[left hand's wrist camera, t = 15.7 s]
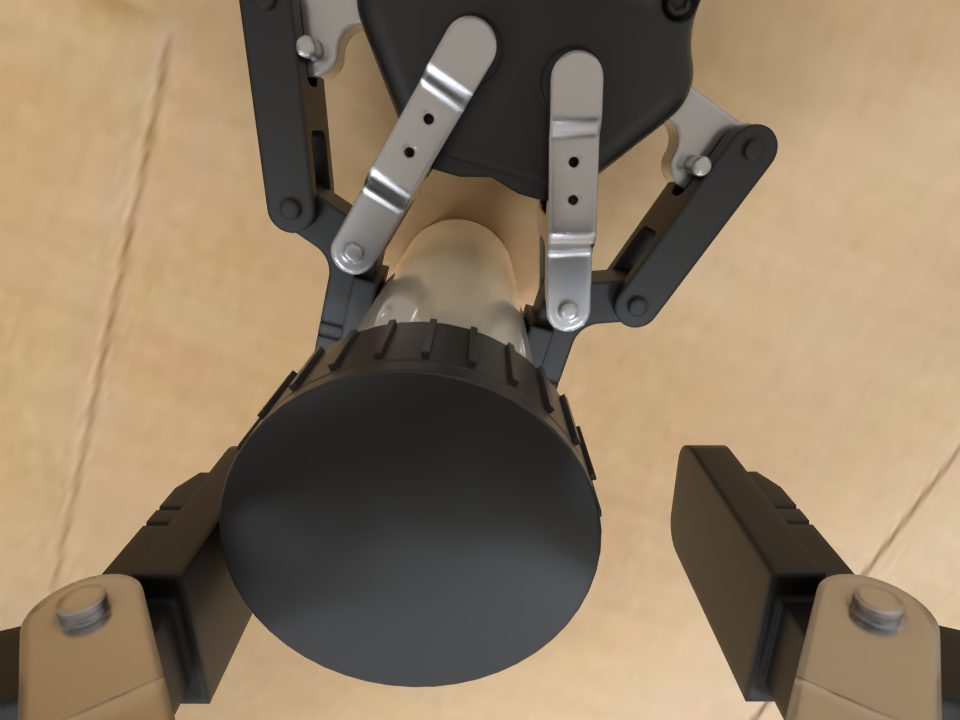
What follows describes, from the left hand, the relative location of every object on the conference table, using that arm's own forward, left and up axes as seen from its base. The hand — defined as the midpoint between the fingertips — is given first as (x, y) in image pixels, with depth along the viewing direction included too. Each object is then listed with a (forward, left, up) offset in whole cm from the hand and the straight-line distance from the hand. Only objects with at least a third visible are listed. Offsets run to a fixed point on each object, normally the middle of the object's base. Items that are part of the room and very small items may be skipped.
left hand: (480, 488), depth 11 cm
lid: (-1, +1, +3) cm, 3 cm away
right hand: (-2, -2, -7) cm, 8 cm away
